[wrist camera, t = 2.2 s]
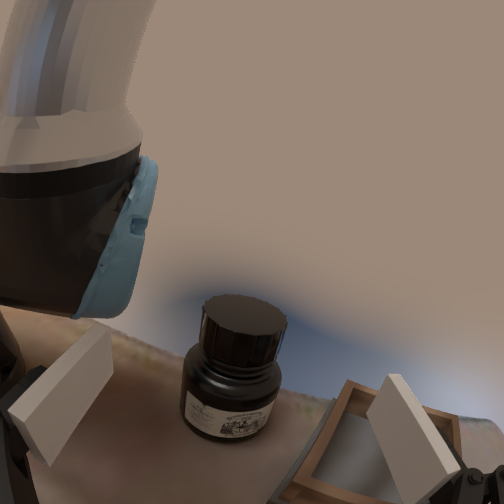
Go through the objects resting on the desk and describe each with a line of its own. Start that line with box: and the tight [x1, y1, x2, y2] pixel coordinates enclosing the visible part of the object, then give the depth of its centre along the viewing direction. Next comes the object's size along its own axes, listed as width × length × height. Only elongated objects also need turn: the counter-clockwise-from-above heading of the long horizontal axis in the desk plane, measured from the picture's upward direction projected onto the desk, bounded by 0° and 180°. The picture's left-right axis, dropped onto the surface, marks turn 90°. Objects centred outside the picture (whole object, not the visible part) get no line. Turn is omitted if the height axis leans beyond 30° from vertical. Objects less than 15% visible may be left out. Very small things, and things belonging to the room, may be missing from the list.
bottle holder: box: [266, 380, 462, 504], centre depth 17 cm, size 16×16×4 cm
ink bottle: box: [180, 294, 288, 442], centre depth 23 cm, size 10×9×12 cm
